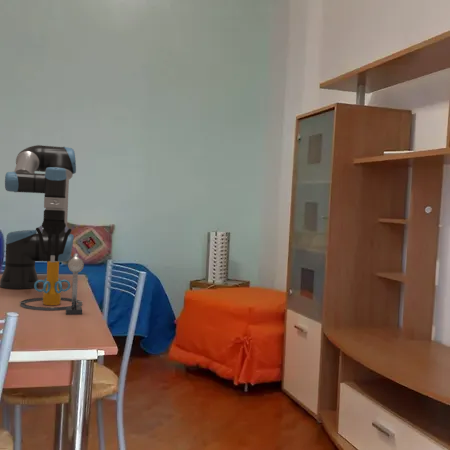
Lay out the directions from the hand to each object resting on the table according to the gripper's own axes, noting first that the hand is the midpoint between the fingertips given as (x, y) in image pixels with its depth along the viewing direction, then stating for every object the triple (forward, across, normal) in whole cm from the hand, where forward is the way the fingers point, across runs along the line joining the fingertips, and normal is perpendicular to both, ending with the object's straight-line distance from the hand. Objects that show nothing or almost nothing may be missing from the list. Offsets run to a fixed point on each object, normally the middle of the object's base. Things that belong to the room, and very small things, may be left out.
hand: (52, 272), depth 210 cm
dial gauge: (+10, +7, -26) cm, 28 cm away
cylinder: (+10, 0, -11) cm, 15 cm away
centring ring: (+10, 0, -12) cm, 16 cm away
